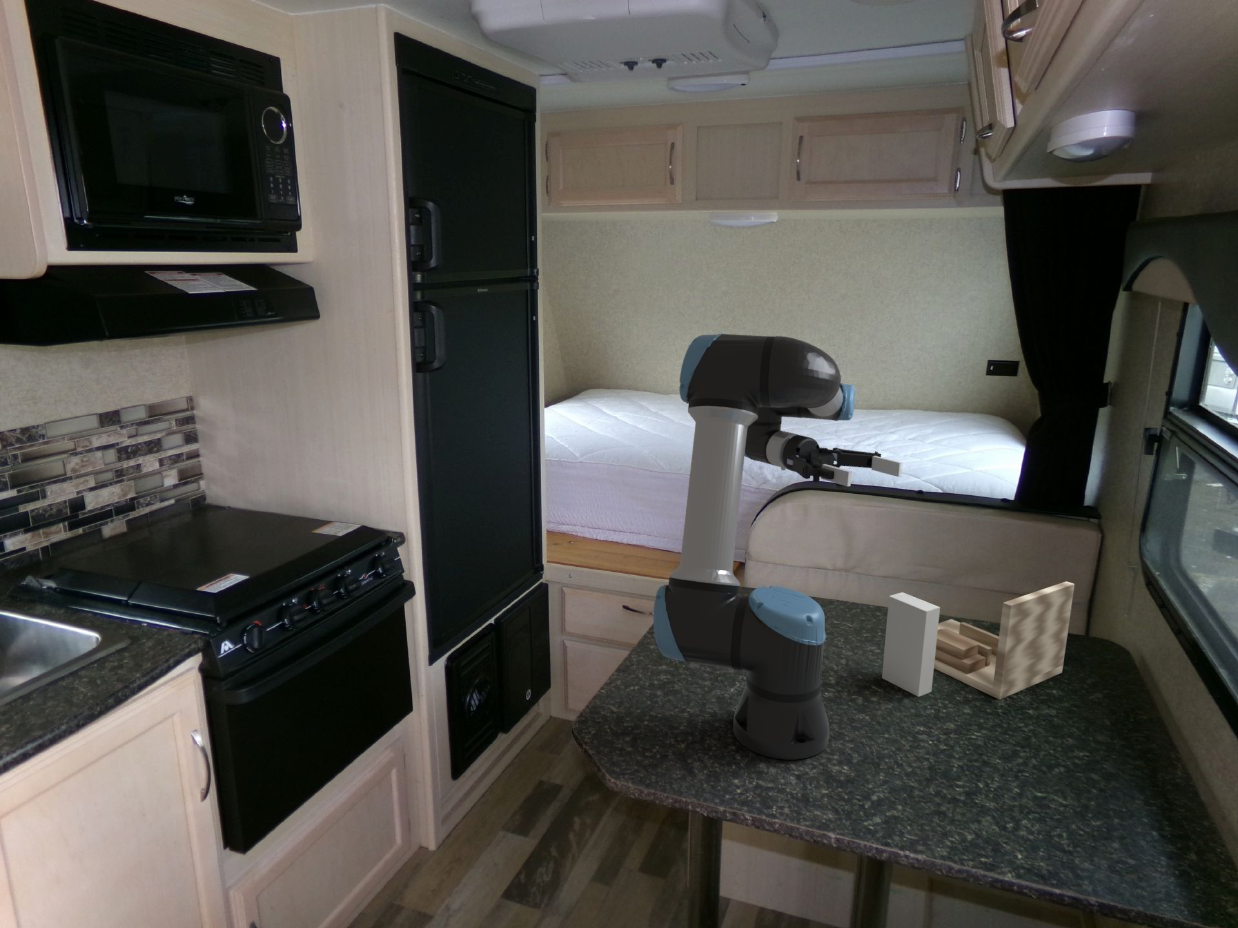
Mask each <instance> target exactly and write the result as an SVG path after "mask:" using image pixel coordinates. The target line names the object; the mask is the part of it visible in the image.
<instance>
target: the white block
mask: <svg viewBox="0 0 1238 928" xmlns="http://www.w3.org/2000/svg"><path fill="white" fill-rule="evenodd" d="M887 603H888V604H887V605H888V607H887V617H886V627H885V640H884V641H885V642H884V650H883V662H882V663H883V664H882V676H881V678H882V679H883V680H885V681H886V682H887V681H888V682H889V683H891V684H893V685H895V686H897V687H899V688H901V689H902V690H904V691H907V692H909V693H910V694H912V695H914V696H916V697H917V698H918V697H921V696H924V695H927V694H929V693H932V687H933V681H934V670H935V669H934V661H935V652H936V642H937V632H938V623H940V622H939V620H940V611H941V607H940V606H938V605H935V604H933V603H930V602H928V601H925V600H923V599H920V598H918V597H914V596H912V595H911V594H908V593H905V592H903V591H902V592H899V593H895V594H891V595H888V602H887Z"/></svg>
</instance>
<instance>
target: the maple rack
mask: <svg viewBox="0 0 1238 928" xmlns="http://www.w3.org/2000/svg"><path fill="white" fill-rule="evenodd" d="M1075 585H1076V584H1075V583H1073V582H1069V581H1064V582H1061V583H1056V584H1055V585H1051V586H1048V587H1046V588H1042V589H1040V590H1037V591H1033V592H1031V593H1029V594H1025V595H1022V596H1019V597H1016V598H1013V599H1010V600H1007V601H1004V602H1003V603H1002V608H1001V609H1002V610H1001V619H1000V624H999V625H1000V626H999V634H998V635H996V634H993V633H991V632H989V631H987V630H984V629H982V628H979V627H976V626H974V625H971V624H969V623H967V622H963V621H962V622H959V621H957V620H954V619H953V618H951V619H948V620H945V621H941V622H938V630H939V629H944V630H946V631H949V632H951V633H953V634H956V635H958V636H960V637H963V638H965V639H967V640H970V641H972V642H974V643H977V644H979V646H978V654H979V655H981V656H984V657H986V662H985V668H982V669H980V670H977V671H975V672H972V673H970V674H966V673H964V672H962V671H960V670H957V669H955V668H953V667H951V666H949V665H947V664H945V663H942V662H940V661H938V660H936V659H935V661H934V670H937V671H939V672H941V673H943V674H945V675H947V676H950V677H952V678H953V679H956V680H958V681H960V682H962V683H963V684H966V685H968V686H970V687H971V688H972V687H973V688H975V689H977V690H978V691H981V692H983V693H985V694H987V695H989V696H991V697H993V698H996V699H997V700H1002V699H1004V698H1006V697H1009V696H1012V695H1014V694H1016V693H1018V692H1021V691H1023V690H1024V689H1025V690H1026V689H1028V688H1030V687H1032V686H1034V685H1036V684H1039V683H1041V682H1044V681H1046V680H1048V679H1050V678H1052V677H1055V676H1057V675H1059V674H1062V673H1063V668H1064V662H1065V661H1064V659H1065V654H1066V647H1067V639H1068V633H1069V626H1070V618H1071V612H1072V605H1073V598H1074V591H1075Z"/></svg>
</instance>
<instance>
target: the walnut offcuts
mask: <svg viewBox="0 0 1238 928" xmlns="http://www.w3.org/2000/svg"><path fill="white" fill-rule="evenodd" d="M978 646H979V644H977V643H974V642H972V641H970V640H967V639H965V638H963V637H960V636H958V635H956V634H953V633H951V632H949V631H946V630H944V629H939V630H938V632H937V642H936V652H935V659H936V660H938V661H940V662H942V663H945V664H947V665H949V666H951V667H953V668H955V669H957V670H960V671H962V672H964V673H966V674H970V673H972V672H975V671H977V670H980V669H982V668H985V662H986V657H984V656H981V655H979V654H978Z"/></svg>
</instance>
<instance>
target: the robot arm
mask: <svg viewBox="0 0 1238 928" xmlns="http://www.w3.org/2000/svg"><path fill="white" fill-rule="evenodd" d="M841 377H842V376H841V371H840V368H839V366H838V364H837V363H836V361H835V360H834V358H833V357H832V356H830V355H829V354H828V353H827V352H825V351H824V350H823V349H821V348H820V347H817V346H815V345H814V344H811V343H809V342H806V341H804V340H800V339H798V338H793V337H788V336H782V335H781V336H780V335H776V336H774V335H773V336H771V335H770V336H768V335H750V334H749V335H748V334H731V333H730V334H729V333H727V334H726V333H722V332H721V333H718V334H702V335H699V336H697V337H695V338H694V339H693V340H692V341H691V343H690V344H689V345H688V347H687V350H686V352H685V355H684V358H683V360H682V365H681V368H680V375H679V383H680V384H679V387H678V388H679V397H680V399H681V400H682V402H684V403H685V404H688V407H687V412H688V414H689V416H690V417H691V418H692V419H693V420H694V422H695V426H694V434H693V445H692V454H691V463H690V470H689V471H690V472H689V480H688V488H687V490H688V491H687V499H686V507H685V508H686V509H685V515H684V516H685V517H684V526H683V535H682V543H681V551H680V553H681V554H680V561H679V565H678V567H677V568H676V569H675V570H673V571H672V572H671V573H670V574H669V577H668V584H664V585H661V586H660V587H659V588H658V589H657V591H656V594H655V601H654V605H653V617H652V618H653V620H652V621H653V630H654V631H653V633H654V639H655V642H656V645H657V648H658V650H659V652H660V653H661V654H662V655H663V656H664V657H665V658H668V659H673V660H676V661H681V662H684V663H685V664H691V663H693V664H699V665H704V666H712V667H718V668H724V669H728V670H729V669H730V670H734V671H735V670H736V671H741V672H746V682H745V686H744V688H743V692H742V695H741V696H740V698H739V701H738V703H737V706H736V709H735V712H734V713H733V722H732V723H733V724H732V726H733V727H732V732H733V735H734V736H735V738H736V740H737V741H738V742H739V743H740V744H741V745H742V746H744V747H745V748H747V749H748V750H750V751H752V752H754V753H757V754H758V755H761V756H764V757H768V758H773V759H778V760H791V761H792V760H802V759H806V758H810V757H811V758H812V757H814V756H816V755H818V754H820V753H822V752H823V751H824V750H825V749H826V748H827V746H828V744H829V740H830V723H829V720H828V716H827V715H828V714H827V711H826V709H825V705H824V701H823V698H822V694H821V693H822V692H821V690H822V688H821V687H822V672H823V658H824V657H823V656H824V642H825V641H826V637H827V636H826V635H827V634H826V632H825V629H826V628H825V627H826V625H825V624H826V623H825V622H826V620H825V619H826V617H825V613H824V610H823V608H822V606H821V605H820V603H818V602H817V601H816V600H815V599H813V598H812V597H810V596H808V595H807V594H805V593H803V592H800V591H798V590H796V589H795V590H794V589H790V588H787V587H782V586H773V585H771V586H769V587H768V586H760V587H757V588H755V589H754V590H752V591H751V593H750V595H749V596H745V595H741V582H740V581H739V580H738V578H737V577H736V575H734V571H733V568H734V558H735V551H736V550H735V549H736V539H737V529H738V522H739V521H738V520H739V510H740V503H741V501H740V500H741V494H742V493H741V492H742V484H743V482H742V481H743V473H744V464H745V458H748V459H750V460H753V461H755V462H760V463H764V464H767V465H771V466H775V467H779V468H780V470H781V471H786V470H788V471H791V472H793V473H794V472H795V473H796V474H798V475H799V476H800V477H801V478H803V479H805V480H809V479H811V477H812V482H813V483H820V479H821V480H825V481H827V482H831V483H834V484H838V485H841V486H845V487H851V484H852V471H851V470H847V469H844V468H841V467H851V468H861V469H862V468H865V469H871V471H875V472H878V473H882V474H884V475H885V474H886V475H890V476H893V477H897V478H901V477H902V471H903V462H902V461H898V460H894V459H889V458H885V457H882V454H881V453H879V452H878V451H876V450H875V451H874V452H867V451H860V450H853V449H851V450H850V449H843V448H838V447H833V448H832V449H829V448H827V447H820V445H819V443H818V442H817V440H816V439H814V438H812V437H809V436H805V435H801V434H798V433H794V432H789V431H785V430H781V429H782V419H783V418H799V419H814V420H815V419H816V420H824V421H826V420H827V421H835V422H837V421H838V422H839V421H850V420H852V418H853V417H854V411H855V400H856V399H855V397H856V388H855V387H854V385H853V384H849V383H848V384H847V383H846V384H845V383H843V382H841V381H842V380H841V379H842V378H841ZM835 462H836V463H835Z"/></svg>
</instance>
